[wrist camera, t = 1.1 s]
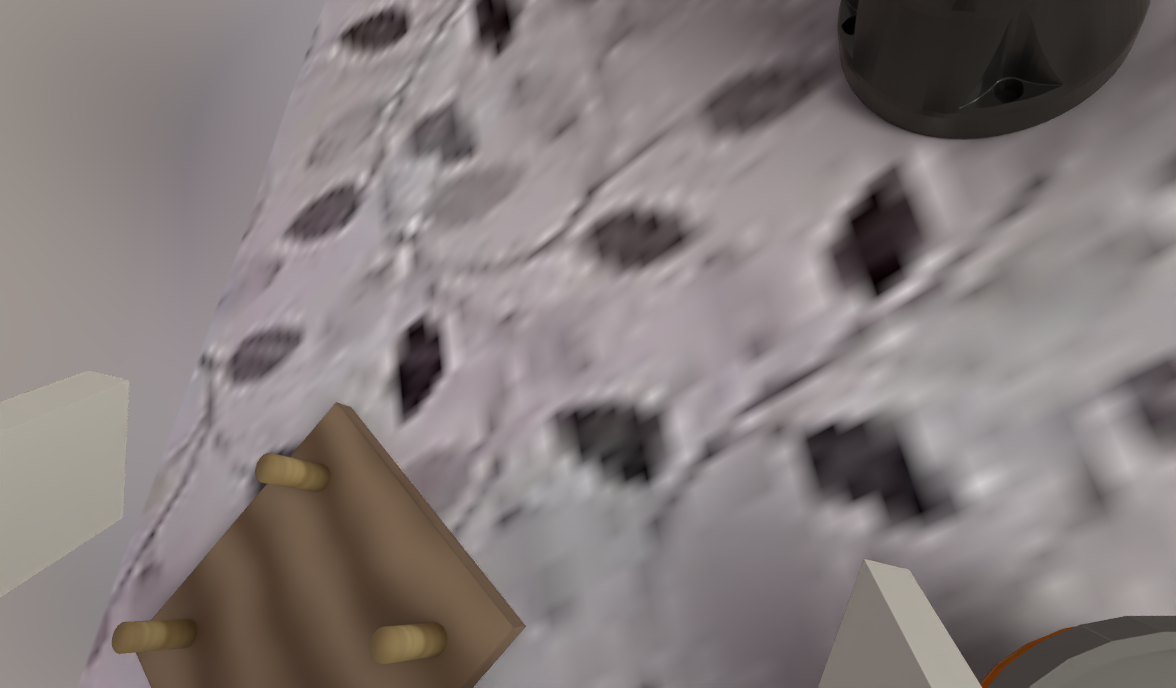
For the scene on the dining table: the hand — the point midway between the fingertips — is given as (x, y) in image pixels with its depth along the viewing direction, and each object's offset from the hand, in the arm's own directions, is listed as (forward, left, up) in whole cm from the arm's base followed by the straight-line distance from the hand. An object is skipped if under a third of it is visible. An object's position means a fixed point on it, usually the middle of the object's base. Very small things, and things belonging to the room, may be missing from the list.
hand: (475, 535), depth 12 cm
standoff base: (+22, -17, -27) cm, 39 cm away
